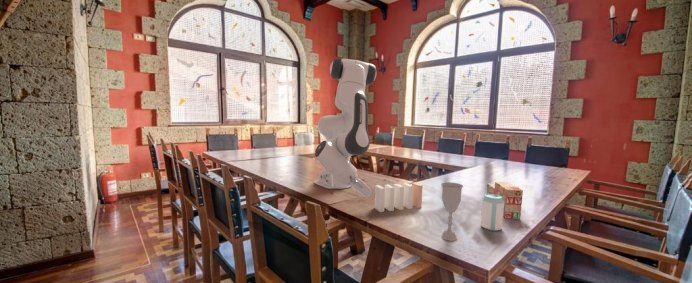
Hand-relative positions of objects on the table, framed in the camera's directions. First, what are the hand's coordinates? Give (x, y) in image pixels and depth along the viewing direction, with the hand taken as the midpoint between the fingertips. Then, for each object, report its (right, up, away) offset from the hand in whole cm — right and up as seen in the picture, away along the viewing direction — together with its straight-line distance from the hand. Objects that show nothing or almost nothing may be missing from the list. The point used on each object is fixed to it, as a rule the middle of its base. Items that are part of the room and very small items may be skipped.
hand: (368, 195), depth 123 cm
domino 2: (+9, -6, +4) cm, 12 cm away
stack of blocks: (+58, -7, +5) cm, 59 cm away
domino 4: (+18, -6, +7) cm, 20 cm away
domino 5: (+22, -6, +8) cm, 24 cm away
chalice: (+25, -10, -24) cm, 36 cm away
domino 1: (+5, -6, +2) cm, 8 cm away
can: (+44, -9, -15) cm, 47 cm away
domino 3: (+13, -6, +5) cm, 16 cm away
